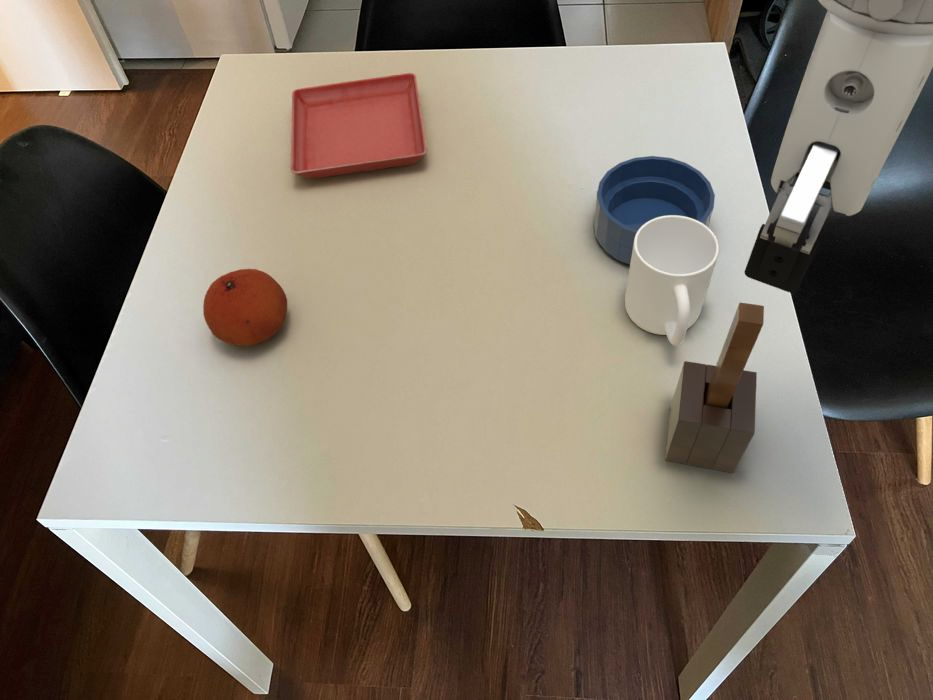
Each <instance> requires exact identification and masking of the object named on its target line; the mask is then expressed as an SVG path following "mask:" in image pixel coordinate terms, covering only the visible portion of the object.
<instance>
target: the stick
mask: <svg viewBox="0 0 933 700" xmlns="http://www.w3.org/2000/svg"><path fill="white" fill-rule="evenodd" d="M764 317H765V306H764V305H761V304H753V303H746V302H739V303H738V306H737V308H736V310H735V314H734V316H733V319H732V322H731V324H730V327H729V329H728V332H727V335H726V338H725V341H724V342H723V346H722V349H721V351H720V354H719V357H718V359H717V362H716V365H715V366H716V367H715V370H714V373H713V375H712V378H711V381H710V383H709V386H708V389H707V391H706V394H705V397H704V402H703V405H707V406H713V407H719V408H725V409H727V407H728V405H729V402H730V400H731V398H732V396H733V393H734V391H735V389H736V386H737V384H738V382H739V379H740V377H741V375H742V372H743V370H745V368H746V365H747V363H748V361H749V358H750V357H751V354H752V351H753V349H754V347H755V345H756V342H757V340H758V338H759V335H760V333H761V331H762V328H763V327H764Z"/></svg>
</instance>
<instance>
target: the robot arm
mask: <svg viewBox="0 0 933 700" xmlns="http://www.w3.org/2000/svg"><path fill="white" fill-rule="evenodd" d="M817 2H819V4H820V5H821V6H822V7H823V8H824V9H826V10H827V11H826V13H825V15H824V19H823V22H822V23H821V27H820V29H819V33H818V36H817V38H816V41H815V43H814V46H813V48H812V52H811V54H810V58H809V61H808V63H807V66H806V69H805V72H804V75H803V78H802V81H801V84H800V87H799V89H798V93H797V95H796V98H795V101H794V103H793V107H792V110H791V113H790V117H789V119H788V122H787V125H786V128H785V131H784V134H783V138H782V141H781V144H780V146H779V151H778V154H777V157H776V161H775V164H774V167H773V171H772V174H771V178H770V185H771V187H772V189H773V191H774V192H775V193H776V194H778V195H777V196H776V198H775V201H774V203H773V206H772V208H771V210H770V212H769V215H768V217H767V219H766V222H765V223H762V224H761V226H760V227H759V231H758V233H757V235H756V239H755V241H754V244H753V247H752V250H751V253H750V256H749V258H748V261H747V264H746V267H745V269H744V275H745V276H746V277H747V278H749V279H751V280H754V281H757V282H760V283H763V284H765V285H768V286H771V287H772V288H776V289H778V290H781V291H784V292H787V293H790V294H795V293H797V292H798V290H799V289H800V286H801V284H802V282H803V280H804V278H805V275H806V274H807V272H808V269H809V267H810V265H811V263H812V261H813V259H814V257H815V254H816V252H817V250H818V248H819V246H820V243H821V242H818V241H817V239H818V236H819V234H820V232H821V230H822V228H823V226H824V224H825V222H826V220H827V217H828V215H829V213H830V210H831V209H832V208H833V212H836V213H840V214H844V215H845V216H847V217H851V216H854V215H856V214H858V213H859V212H861V211H862V210H863V207H864V205H865V203H866V202H867V199H868V197H869V195H870V193H871V192H872V189H873V187H874V185H875V183H876V181H877V179H878V177H879V175H880V173H881V171H882V169H883V167H884V166H885V164H886V162H887V159H888V158H889V155H890V154H891V152H892V149H893V147H894V146H895V144H896V142H897V140H898V138H899V136H900V134H901V132H902V130H903V128H904V126H905V124H906V122H907V120H908V118H909V116H910V114H911V112H912V110H913V108H914V106H915V104H916V102H917V101H918V98H919V96H920V94H921V92H922V90H923V88H924V86H925V84H926V82H927V80H928V78H929V76H930V74H931V71H932V70H933V0H817ZM795 178H796V181H795V183H794V184H793V182H794V180H795ZM822 189H825V190H829V191H830V192H829V194H828V195H826V194H823V193H821V191H822ZM815 205H816V206H818V207H819V208H818V210H817V212H816V215H815V217H814V219H813V221H812V223H811V225H810V228H808V227H805V226H806V224H807V221H808V219H809V217H810V214H811V212H812V210H813V208H814V206H815Z"/></svg>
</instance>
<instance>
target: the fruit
mask: <svg viewBox="0 0 933 700" xmlns="http://www.w3.org/2000/svg"><path fill="white" fill-rule="evenodd" d="M202 309H203V310H202V311H203V317H204V322H205V324H206V326H207V327H208V329H209V330H210V332H211V334H212V336H214V337H215V338H216V339H217V340H219V341H221V342H223V343H226V344H229V345H232V346H241V347H249V346H250V347H251V346H255V345H258V344H260V343H262V342H264V341H267V340H269V339H271V338H272V337H273V336H274V335H275V334H276V333H277V332H278V331H280V329H281V328H282V326H283V324H284V322H285V320H286V317H287V312H288V299H287V294H286V293H285V291H284V288H283V286H281V285H280V284H279V283H278V281H277V280H276V279H274V277H272V276H271V275H270V274H268V273H267V272H265V271H262V270H259V269H256V268H242V269H237V270H233V271H229V272H227V273H225V274H223V275H220V276H219V277H217V278H216V279H215V280H214V281H213V282H212V283H211V284H210V285H209V287H208V289H207V290H206V294H205V295H204V299H203V307H202Z"/></svg>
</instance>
